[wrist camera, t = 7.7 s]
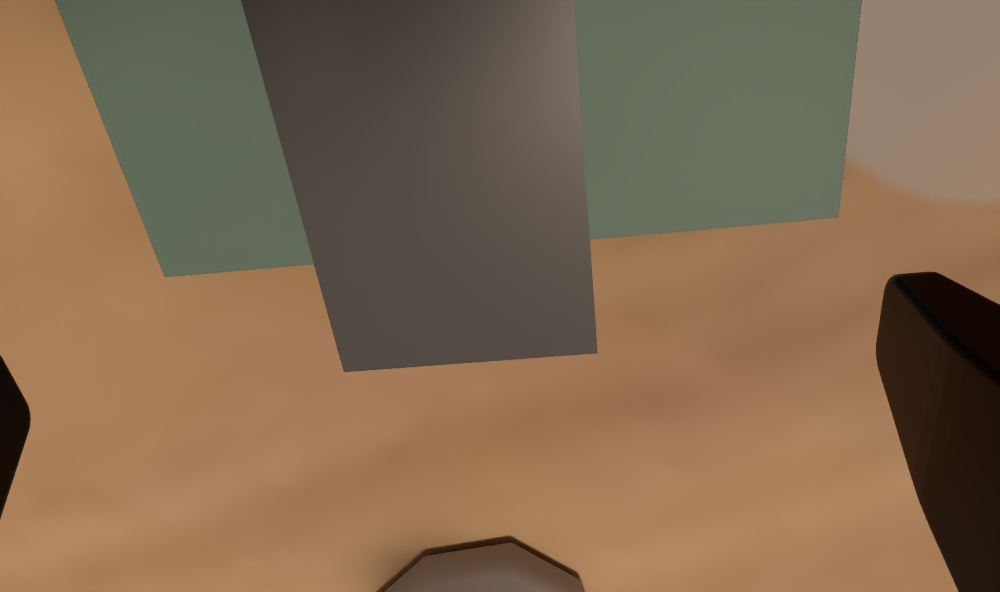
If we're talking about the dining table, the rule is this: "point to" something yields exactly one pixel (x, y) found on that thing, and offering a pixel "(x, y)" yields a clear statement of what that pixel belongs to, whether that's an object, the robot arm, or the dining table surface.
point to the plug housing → (436, 173)
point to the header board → (604, 114)
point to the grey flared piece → (486, 572)
